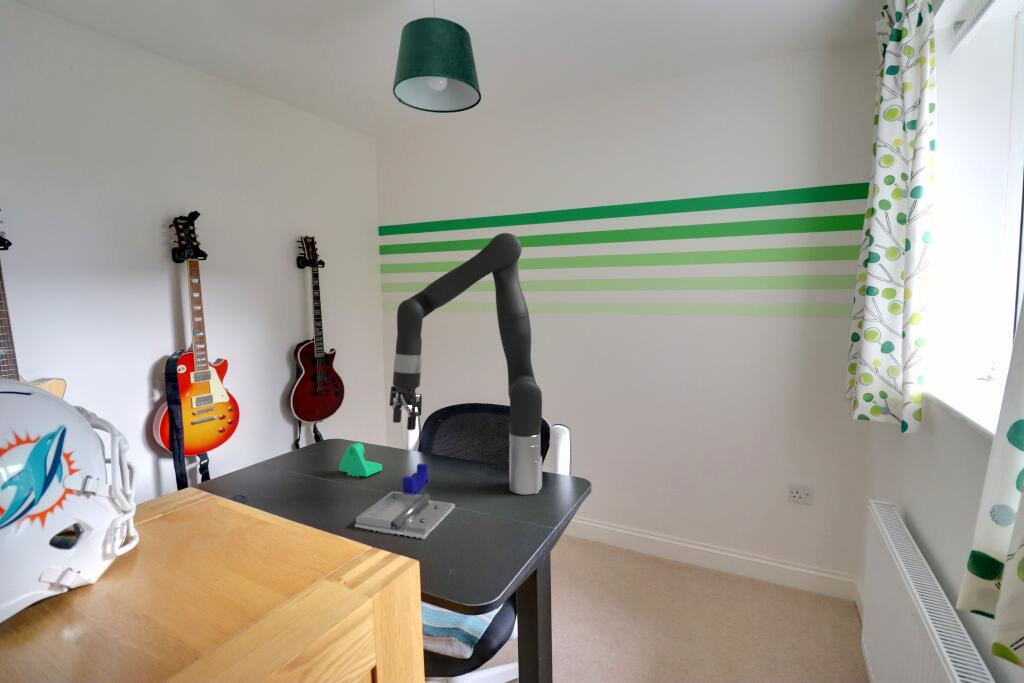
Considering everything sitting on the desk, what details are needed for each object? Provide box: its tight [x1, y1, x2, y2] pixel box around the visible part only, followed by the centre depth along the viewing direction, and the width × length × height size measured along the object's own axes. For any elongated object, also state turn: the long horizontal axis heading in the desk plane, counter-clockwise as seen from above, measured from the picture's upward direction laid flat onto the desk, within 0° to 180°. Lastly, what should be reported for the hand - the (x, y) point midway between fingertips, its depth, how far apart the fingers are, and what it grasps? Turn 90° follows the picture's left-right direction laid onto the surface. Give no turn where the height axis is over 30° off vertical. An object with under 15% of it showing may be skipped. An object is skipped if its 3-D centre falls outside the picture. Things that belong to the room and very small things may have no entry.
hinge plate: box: [354, 490, 456, 540], centre depth 124 cm, size 19×18×3 cm
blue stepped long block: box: [402, 463, 429, 495], centre depth 141 cm, size 12×4×6 cm, turn 169°
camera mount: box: [338, 442, 383, 478], centre depth 155 cm, size 12×8×10 cm, turn 62°
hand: (403, 425), depth 135 cm, fingers open, 8 cm apart
